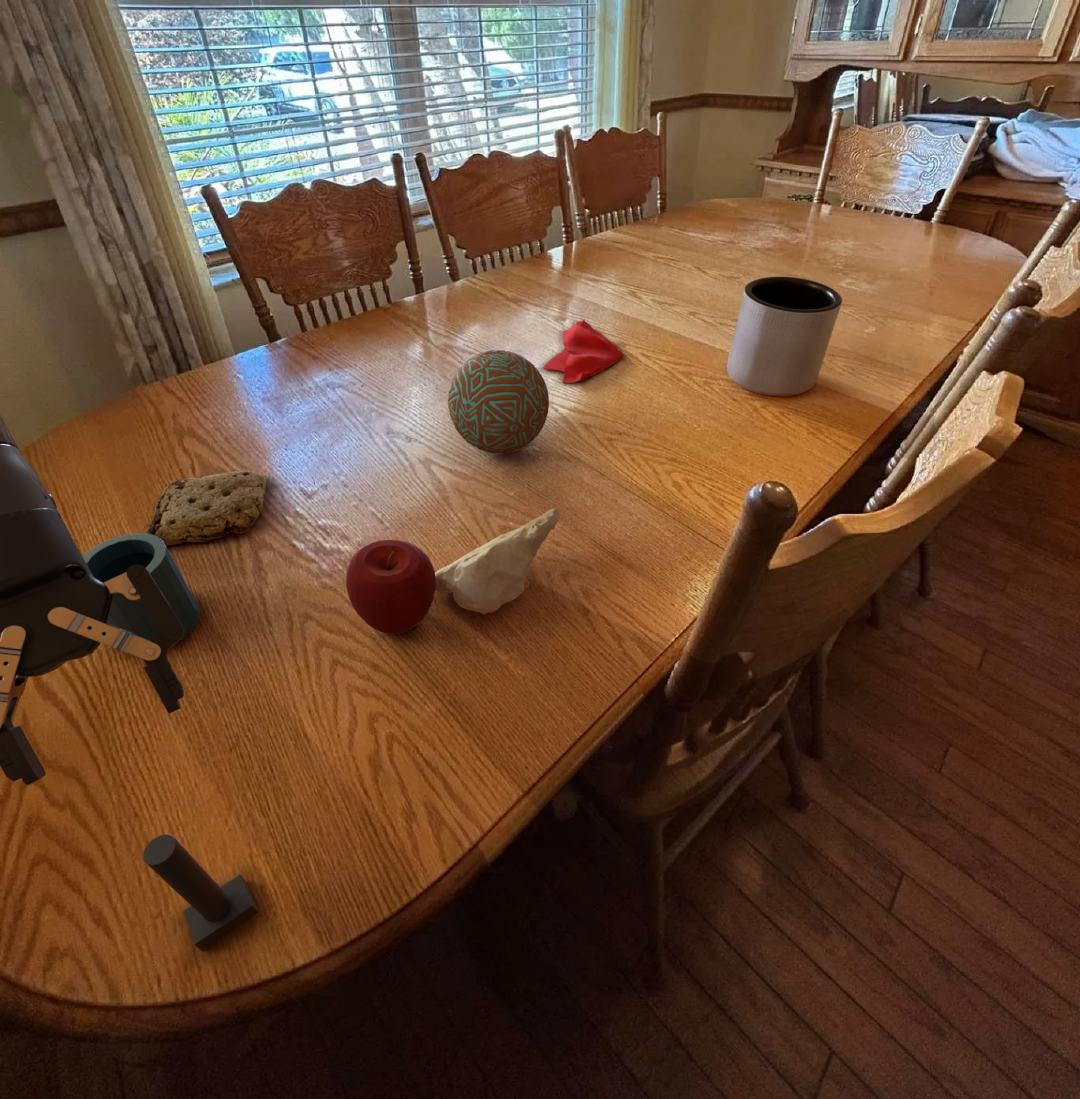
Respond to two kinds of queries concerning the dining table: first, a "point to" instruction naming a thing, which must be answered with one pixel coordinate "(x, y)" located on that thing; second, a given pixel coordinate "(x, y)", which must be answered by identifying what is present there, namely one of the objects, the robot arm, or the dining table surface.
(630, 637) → the dining table surface
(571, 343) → the cloth
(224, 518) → the pastry
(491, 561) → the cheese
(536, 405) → the decorative sphere
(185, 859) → the t-shaped mushroom stamp
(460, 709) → the dining table surface
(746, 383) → the planter
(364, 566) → the apple
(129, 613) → the crock
